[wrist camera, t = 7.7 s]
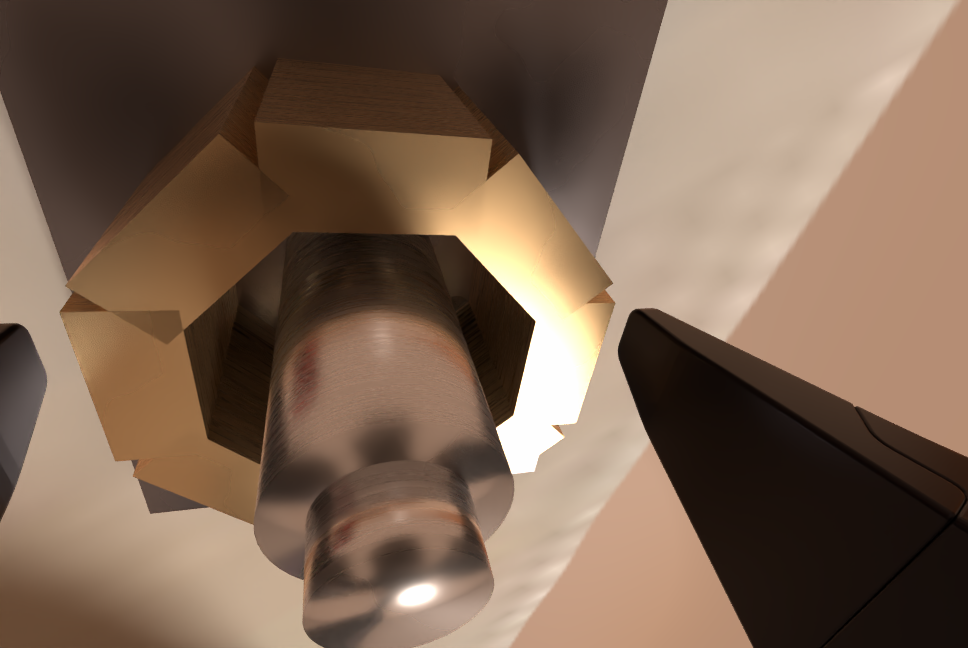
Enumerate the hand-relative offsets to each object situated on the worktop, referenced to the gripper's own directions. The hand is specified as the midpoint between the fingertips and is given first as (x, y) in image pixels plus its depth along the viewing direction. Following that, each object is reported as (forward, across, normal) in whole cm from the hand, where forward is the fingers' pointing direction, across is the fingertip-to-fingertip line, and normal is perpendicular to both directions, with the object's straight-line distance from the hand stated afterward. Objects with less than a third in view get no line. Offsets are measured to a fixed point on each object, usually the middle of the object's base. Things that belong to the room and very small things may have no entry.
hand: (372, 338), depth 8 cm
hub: (+3, 0, 0) cm, 3 cm away
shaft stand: (+4, 0, 0) cm, 4 cm away
